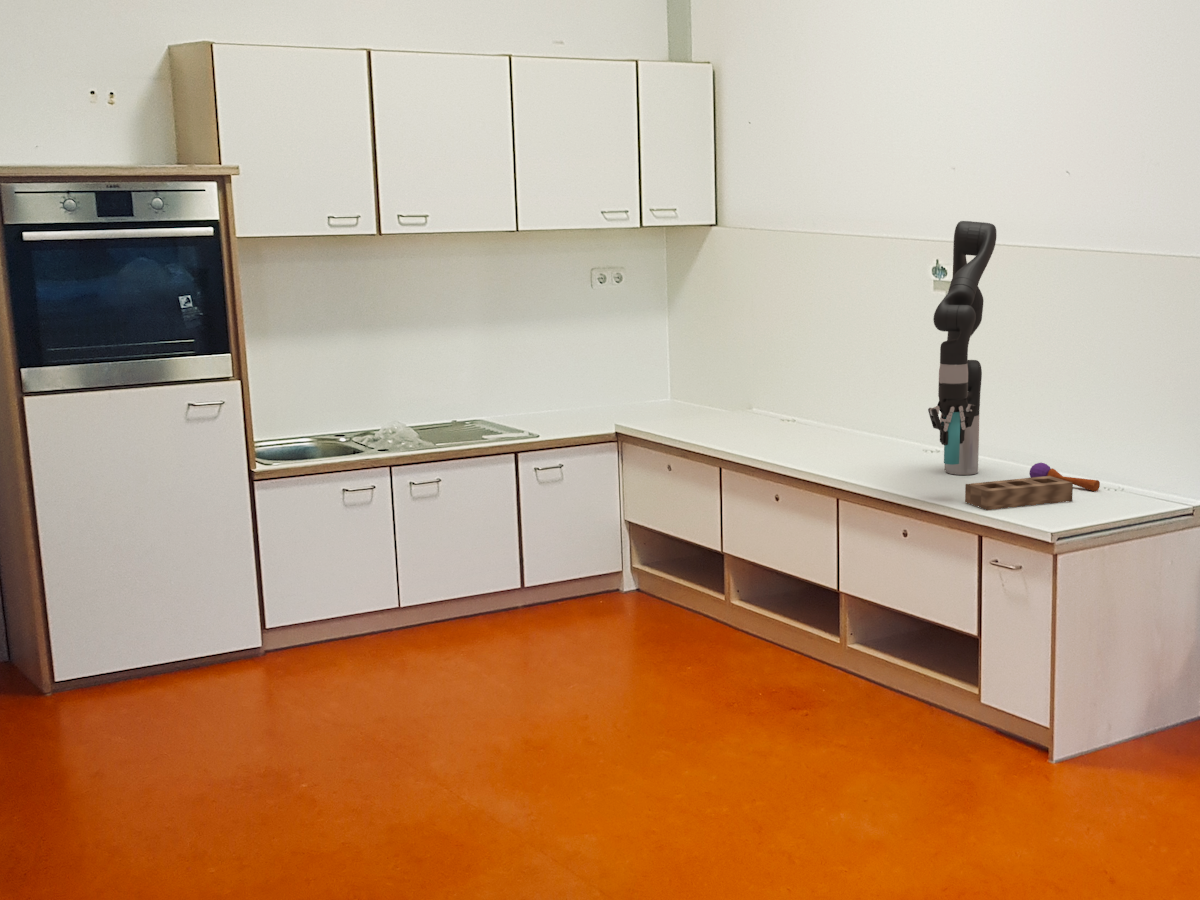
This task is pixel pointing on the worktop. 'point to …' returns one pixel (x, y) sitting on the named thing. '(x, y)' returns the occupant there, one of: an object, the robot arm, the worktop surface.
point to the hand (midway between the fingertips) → (951, 443)
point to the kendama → (1045, 470)
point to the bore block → (1018, 492)
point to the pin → (953, 441)
